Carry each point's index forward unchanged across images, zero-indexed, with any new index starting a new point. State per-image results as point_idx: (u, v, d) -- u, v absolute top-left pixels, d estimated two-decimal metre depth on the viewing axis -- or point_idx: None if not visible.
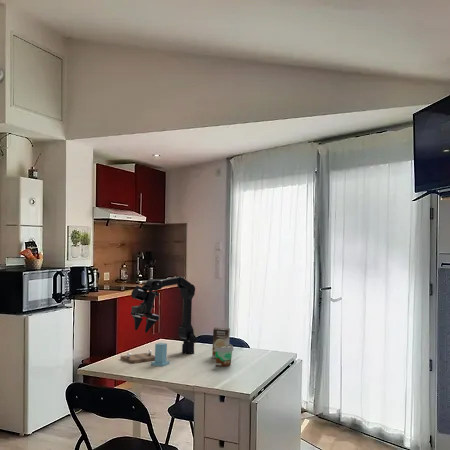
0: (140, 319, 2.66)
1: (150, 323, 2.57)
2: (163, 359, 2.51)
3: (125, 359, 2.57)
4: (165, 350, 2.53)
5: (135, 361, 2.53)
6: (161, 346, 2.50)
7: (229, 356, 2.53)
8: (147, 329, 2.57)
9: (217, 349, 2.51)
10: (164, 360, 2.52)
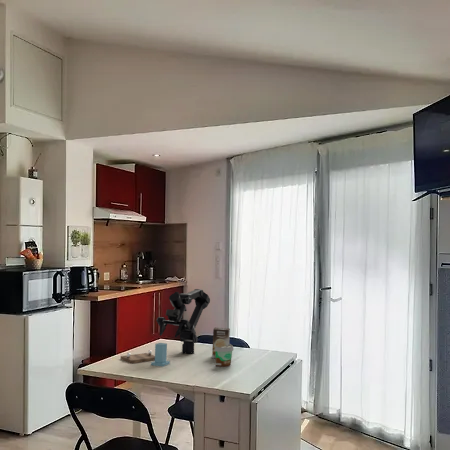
0: (164, 327, 2.67)
1: (181, 330, 2.62)
2: (163, 359, 2.51)
3: (125, 359, 2.57)
4: (165, 350, 2.53)
5: (135, 361, 2.53)
6: (161, 346, 2.50)
7: (229, 356, 2.53)
8: (177, 334, 2.59)
9: (217, 349, 2.51)
10: (164, 360, 2.52)
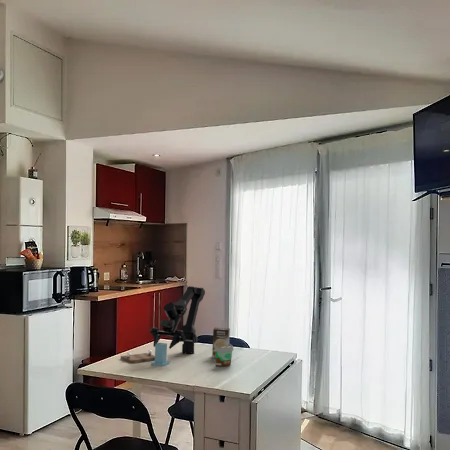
0: (158, 338, 2.60)
1: (175, 341, 2.55)
2: (163, 359, 2.51)
3: (125, 359, 2.57)
4: (165, 350, 2.53)
5: (135, 361, 2.53)
6: (161, 346, 2.50)
7: (229, 356, 2.53)
8: (172, 345, 2.53)
9: (217, 349, 2.51)
10: (164, 360, 2.52)
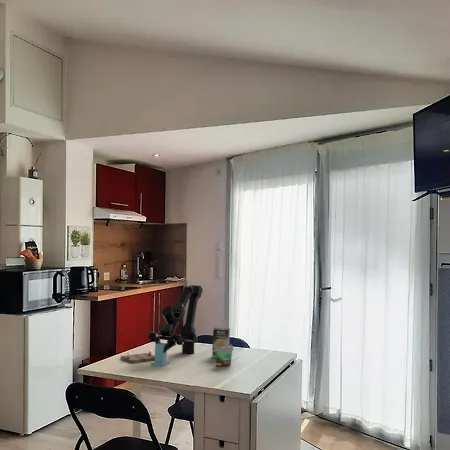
0: None
1: (169, 345, 2.54)
2: (163, 359, 2.51)
3: (125, 359, 2.57)
4: None
5: (135, 361, 2.53)
6: (161, 346, 2.50)
7: (229, 356, 2.53)
8: (166, 349, 2.52)
9: (217, 349, 2.51)
10: (164, 360, 2.52)
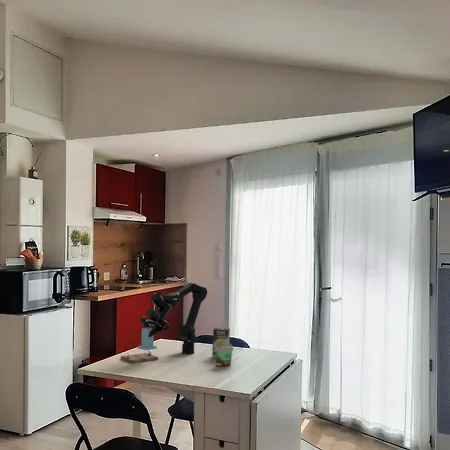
0: None
1: (156, 330, 2.58)
2: (148, 343, 2.55)
3: (125, 359, 2.57)
4: None
5: (135, 361, 2.53)
6: (146, 330, 2.55)
7: (229, 356, 2.53)
8: (151, 334, 2.56)
9: (217, 349, 2.51)
10: (150, 344, 2.56)
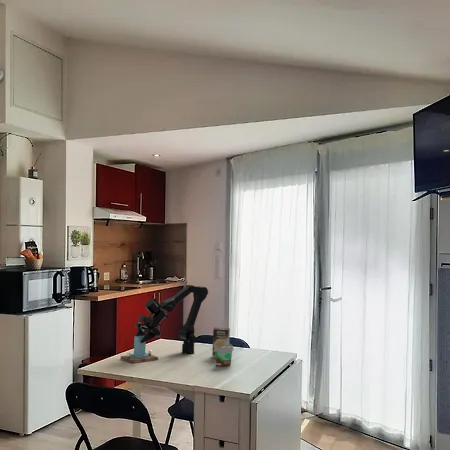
0: (143, 333, 2.68)
1: (149, 336, 2.60)
2: (140, 352, 2.60)
3: (125, 359, 2.57)
4: (143, 343, 2.61)
5: (135, 361, 2.53)
6: (137, 339, 2.60)
7: (229, 356, 2.53)
8: (143, 340, 2.59)
9: (217, 349, 2.51)
10: (141, 353, 2.60)
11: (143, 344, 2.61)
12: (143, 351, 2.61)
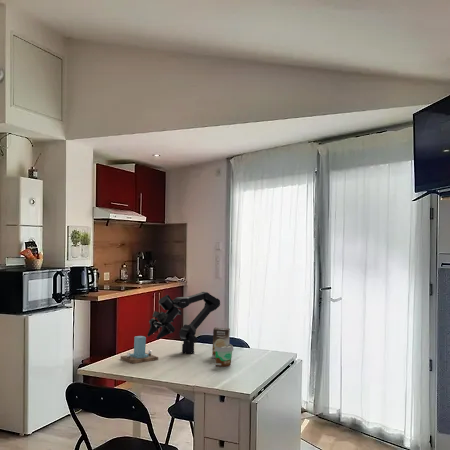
0: (155, 329, 2.75)
1: (164, 332, 2.65)
2: (140, 352, 2.60)
3: (125, 359, 2.57)
4: (143, 343, 2.61)
5: (135, 361, 2.53)
6: (137, 339, 2.60)
7: (229, 356, 2.53)
8: (159, 336, 2.64)
9: (217, 349, 2.51)
10: (141, 353, 2.60)
11: (143, 344, 2.61)
12: (143, 351, 2.61)
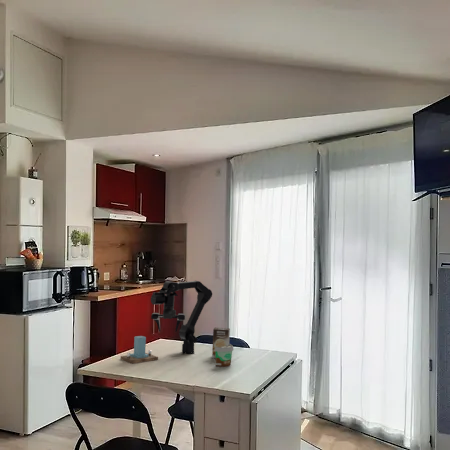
0: (159, 320, 2.77)
1: None
2: (140, 352, 2.60)
3: (125, 359, 2.57)
4: (143, 343, 2.61)
5: (135, 361, 2.53)
6: (137, 339, 2.60)
7: (229, 356, 2.53)
8: None
9: (217, 349, 2.51)
10: (141, 353, 2.60)
11: (143, 344, 2.61)
12: (143, 351, 2.61)
